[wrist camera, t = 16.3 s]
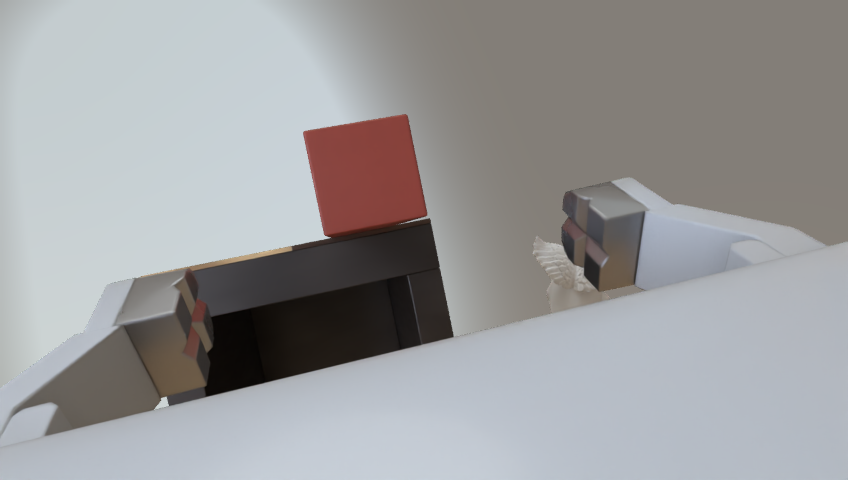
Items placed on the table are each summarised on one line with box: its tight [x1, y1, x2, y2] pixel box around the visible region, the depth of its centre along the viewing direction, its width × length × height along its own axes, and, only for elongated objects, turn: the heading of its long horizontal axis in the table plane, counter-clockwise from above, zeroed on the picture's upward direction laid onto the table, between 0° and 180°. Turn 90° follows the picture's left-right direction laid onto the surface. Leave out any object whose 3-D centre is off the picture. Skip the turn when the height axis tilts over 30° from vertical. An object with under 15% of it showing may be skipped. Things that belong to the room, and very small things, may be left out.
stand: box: [141, 218, 454, 406], centre depth 29 cm, size 12×14×26 cm
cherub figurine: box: [533, 236, 610, 313], centre depth 63 cm, size 12×12×22 cm
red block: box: [303, 114, 427, 238], centre depth 25 cm, size 3×22×3 cm, turn 9°
